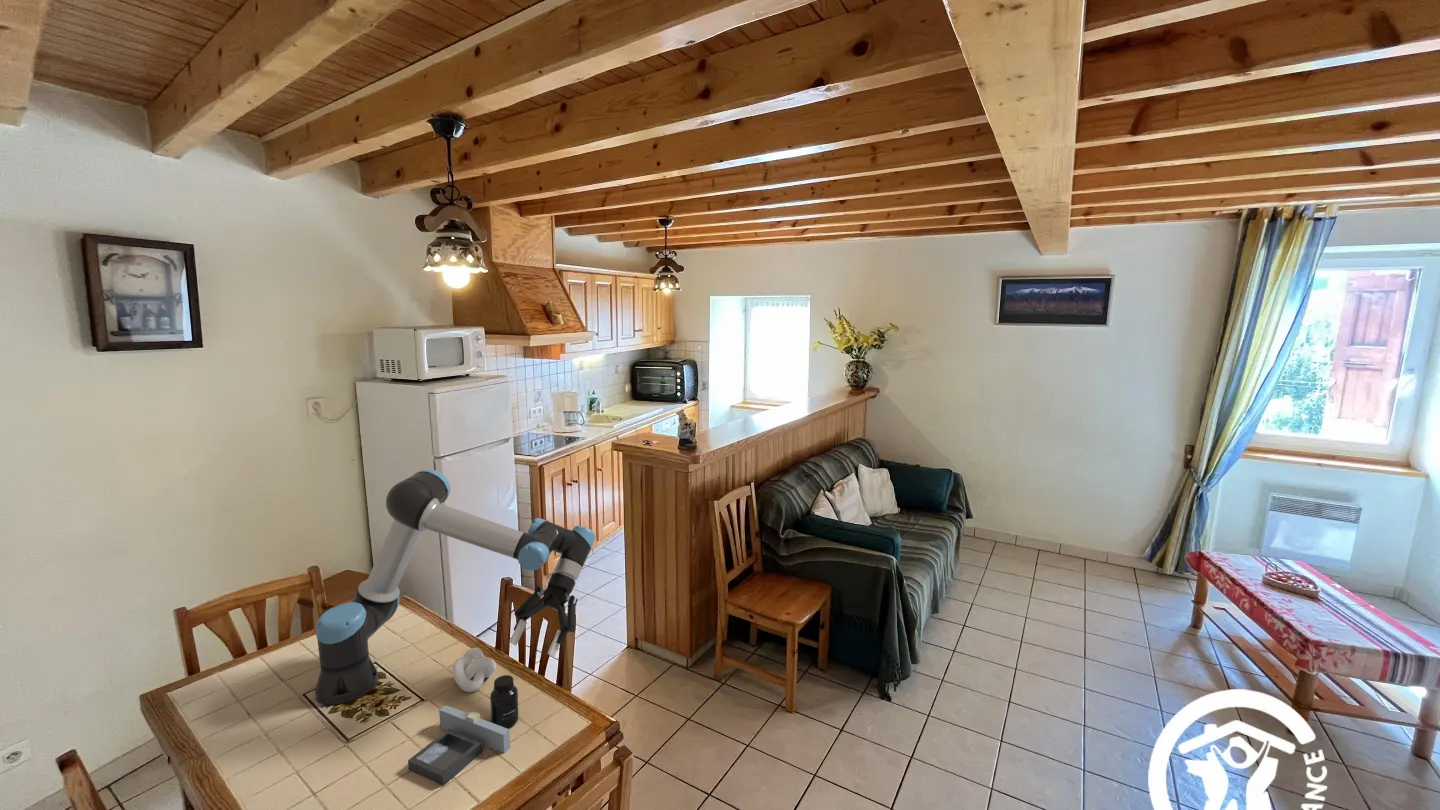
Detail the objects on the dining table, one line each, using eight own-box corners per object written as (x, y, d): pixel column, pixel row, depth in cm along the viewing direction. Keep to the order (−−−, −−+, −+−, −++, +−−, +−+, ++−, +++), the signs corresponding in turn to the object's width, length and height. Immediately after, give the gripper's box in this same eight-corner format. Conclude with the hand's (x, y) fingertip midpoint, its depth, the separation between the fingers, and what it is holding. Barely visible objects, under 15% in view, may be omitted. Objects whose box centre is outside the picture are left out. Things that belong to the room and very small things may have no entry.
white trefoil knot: (498, 667, 173) (496, 640, 172) (495, 691, 162) (494, 663, 160) (457, 674, 169) (456, 647, 168) (452, 699, 158) (450, 670, 157)
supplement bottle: (509, 732, 145) (507, 690, 144) (486, 728, 147) (483, 686, 145) (524, 715, 152) (522, 674, 150) (501, 711, 153) (499, 671, 152)
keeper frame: (408, 769, 133) (407, 760, 133) (449, 737, 144) (448, 728, 143) (443, 785, 129) (442, 776, 128) (482, 751, 139) (482, 742, 139)
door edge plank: (440, 727, 147) (438, 705, 146) (446, 722, 149) (445, 700, 148) (504, 753, 138) (502, 730, 138) (510, 747, 140) (509, 725, 139)
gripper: (604, 589, 166) (574, 663, 155) (538, 574, 176) (505, 643, 165) (593, 579, 161) (560, 656, 149) (525, 564, 171) (490, 635, 159)
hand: (531, 649), depth 157 cm, fingers open, 13 cm apart
